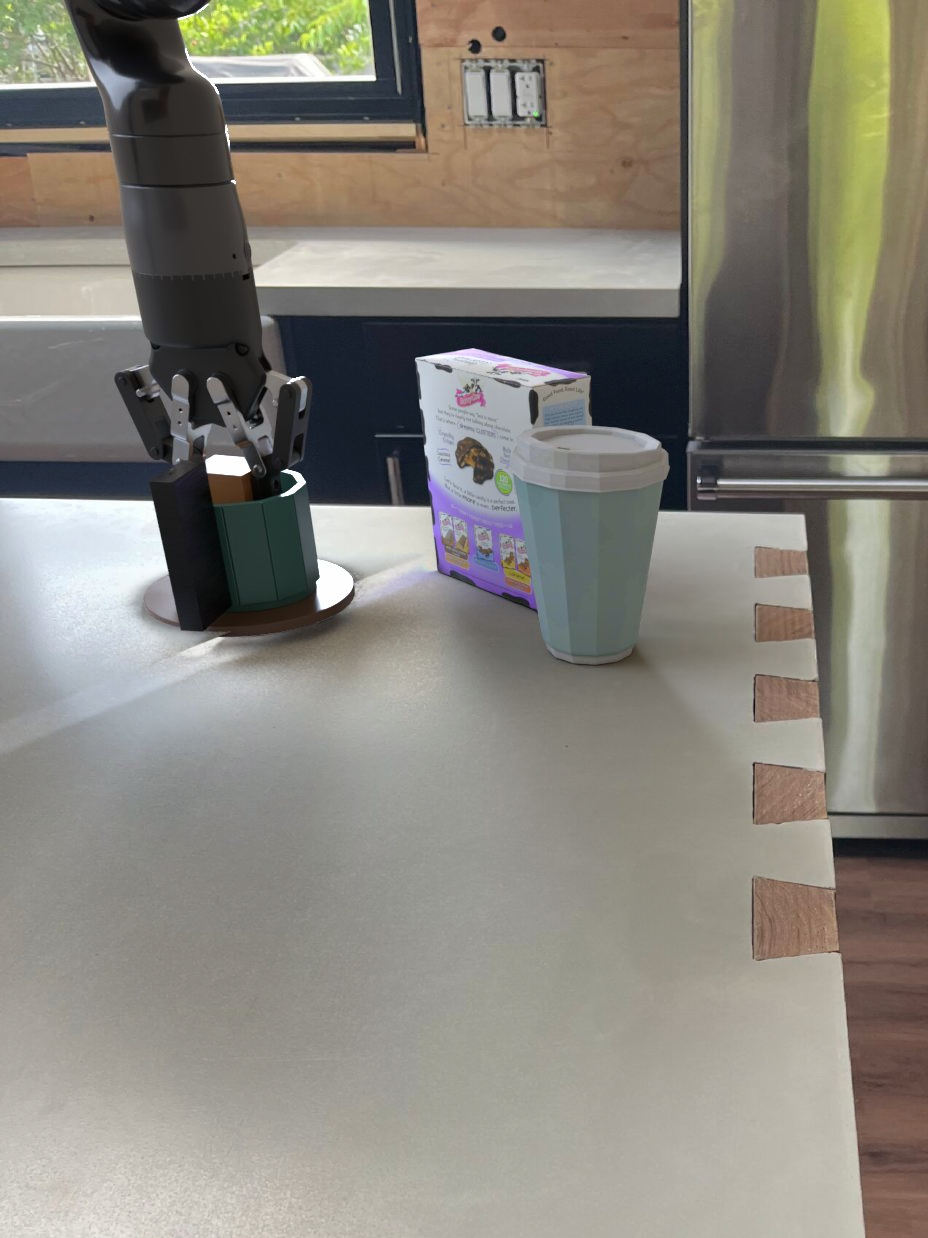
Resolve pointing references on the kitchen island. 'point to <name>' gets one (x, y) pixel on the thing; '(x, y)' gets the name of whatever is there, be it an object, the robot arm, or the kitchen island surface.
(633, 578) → the disposable coffee cup
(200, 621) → the cup with saucer
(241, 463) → the block
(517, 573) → the candy box
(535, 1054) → the kitchen island surface
